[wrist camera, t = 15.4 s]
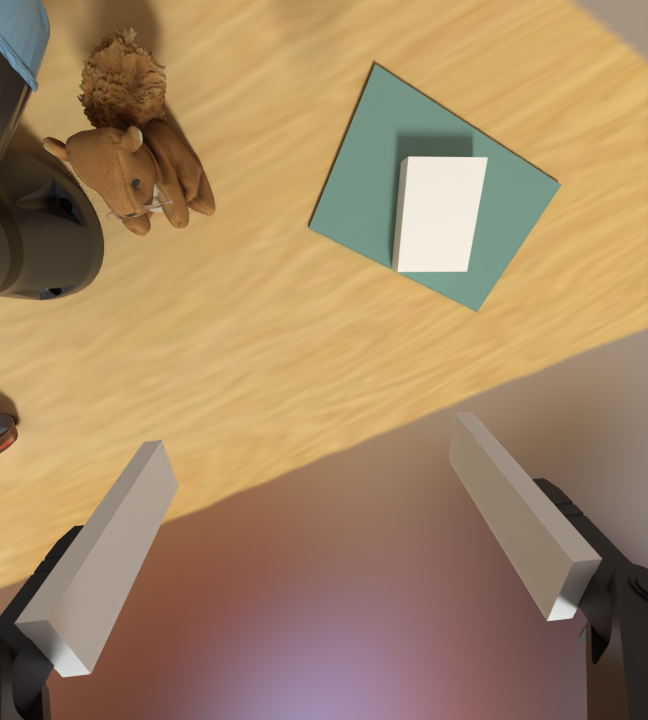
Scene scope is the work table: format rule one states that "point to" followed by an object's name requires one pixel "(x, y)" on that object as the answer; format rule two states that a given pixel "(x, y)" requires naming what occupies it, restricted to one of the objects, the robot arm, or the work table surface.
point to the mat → (381, 184)
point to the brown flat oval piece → (7, 432)
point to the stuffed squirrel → (132, 140)
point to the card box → (437, 213)
